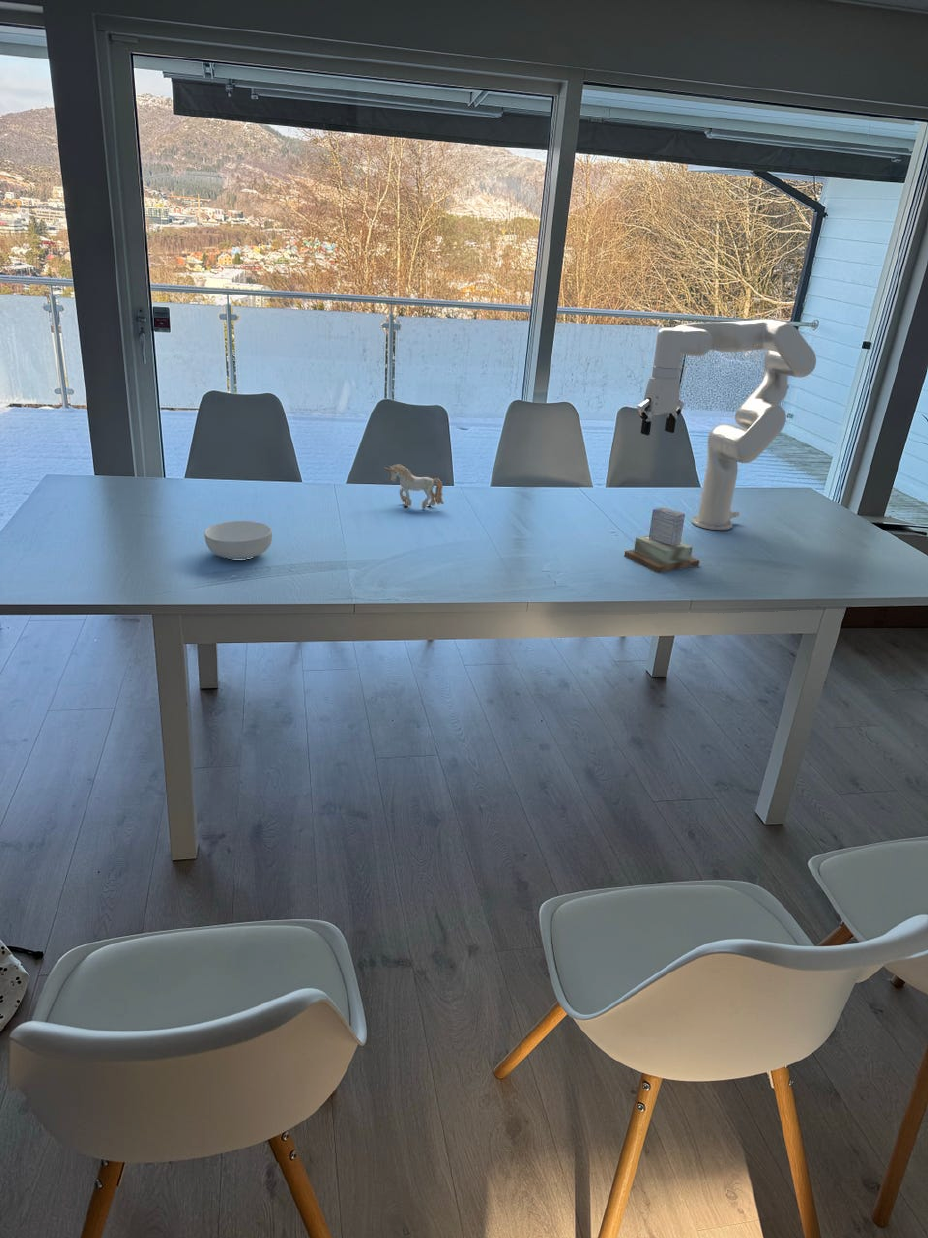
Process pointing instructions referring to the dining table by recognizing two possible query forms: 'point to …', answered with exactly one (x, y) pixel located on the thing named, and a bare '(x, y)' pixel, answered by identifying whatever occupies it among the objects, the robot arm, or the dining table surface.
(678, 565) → the base board
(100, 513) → the dining table surface
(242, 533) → the cereal bowl
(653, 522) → the medicine box
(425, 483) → the unicorn figurine
